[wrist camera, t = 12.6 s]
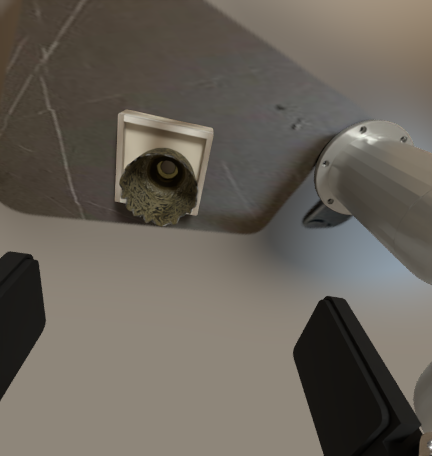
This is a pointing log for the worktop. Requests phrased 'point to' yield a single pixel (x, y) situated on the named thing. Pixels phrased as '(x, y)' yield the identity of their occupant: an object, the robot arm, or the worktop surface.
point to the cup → (159, 187)
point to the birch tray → (161, 144)
